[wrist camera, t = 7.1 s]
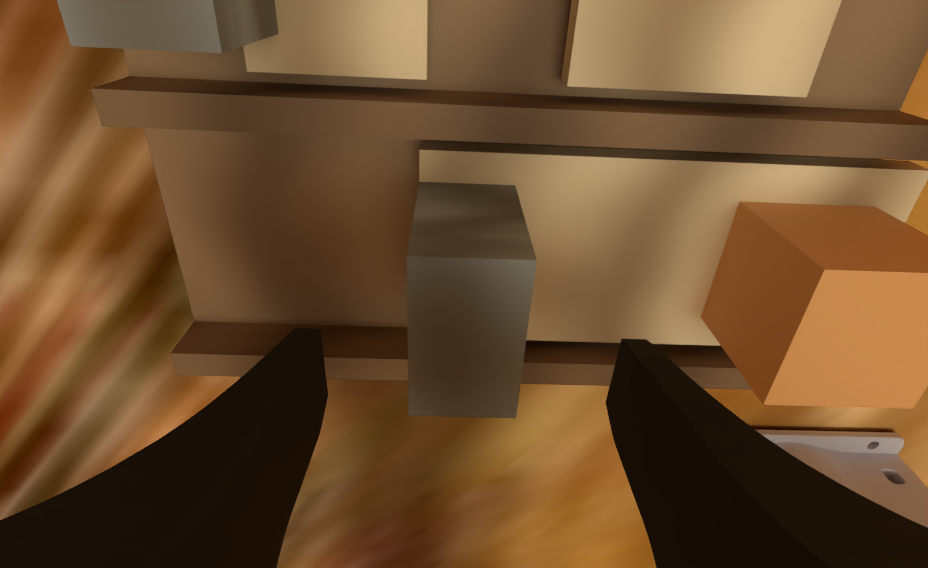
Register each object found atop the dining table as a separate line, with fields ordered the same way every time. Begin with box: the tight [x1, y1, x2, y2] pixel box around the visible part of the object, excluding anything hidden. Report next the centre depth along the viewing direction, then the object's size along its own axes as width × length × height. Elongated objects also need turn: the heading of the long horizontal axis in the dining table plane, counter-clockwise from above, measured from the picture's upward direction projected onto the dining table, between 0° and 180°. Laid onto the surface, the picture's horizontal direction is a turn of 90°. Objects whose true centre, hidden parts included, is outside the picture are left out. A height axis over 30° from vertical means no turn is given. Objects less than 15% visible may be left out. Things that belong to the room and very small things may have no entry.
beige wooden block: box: [407, 141, 928, 418], centre depth 16 cm, size 16×7×6 cm, turn 87°
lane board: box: [57, 0, 928, 389], centre depth 14 cm, size 24×19×6 cm
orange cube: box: [701, 201, 928, 408], centre depth 16 cm, size 4×4×4 cm
